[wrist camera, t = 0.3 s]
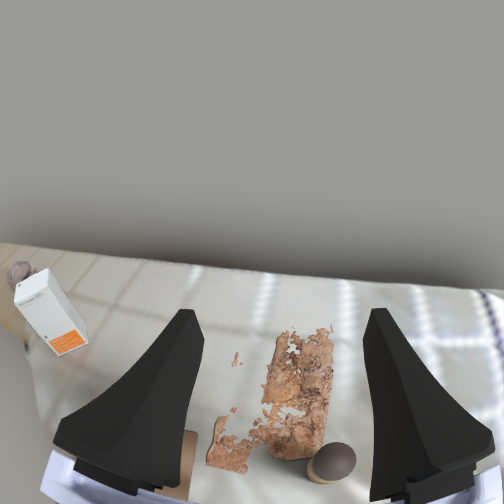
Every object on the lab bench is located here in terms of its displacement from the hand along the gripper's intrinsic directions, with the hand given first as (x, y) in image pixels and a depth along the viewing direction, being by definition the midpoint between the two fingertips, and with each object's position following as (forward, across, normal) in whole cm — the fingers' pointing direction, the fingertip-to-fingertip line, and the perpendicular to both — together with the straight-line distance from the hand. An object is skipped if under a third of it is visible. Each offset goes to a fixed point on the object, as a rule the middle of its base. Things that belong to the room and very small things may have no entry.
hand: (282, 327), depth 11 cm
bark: (+7, +1, +21) cm, 22 cm away
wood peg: (-2, -4, +21) cm, 21 cm away
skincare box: (+10, +31, +19) cm, 38 cm away
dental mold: (+19, +52, +18) cm, 59 cm away
